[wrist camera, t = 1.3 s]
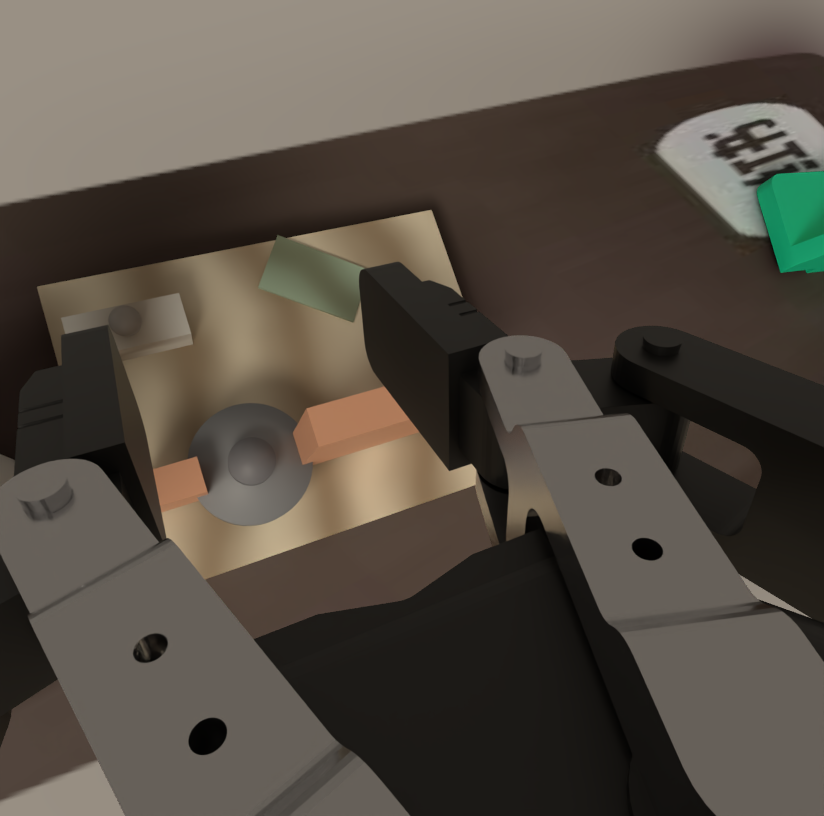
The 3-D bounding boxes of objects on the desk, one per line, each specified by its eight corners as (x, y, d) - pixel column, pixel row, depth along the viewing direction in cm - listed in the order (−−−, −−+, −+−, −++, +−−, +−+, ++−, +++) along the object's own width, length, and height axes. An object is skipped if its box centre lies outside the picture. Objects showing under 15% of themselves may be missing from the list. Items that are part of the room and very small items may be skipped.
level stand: (130, 603, 36) (113, 613, 30) (45, 296, 38) (15, 255, 32) (510, 471, 43) (549, 461, 38) (422, 221, 45) (447, 178, 40)
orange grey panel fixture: (164, 557, 34) (143, 560, 26) (131, 442, 35) (100, 408, 27) (479, 452, 40) (546, 427, 32) (446, 355, 41) (502, 305, 33)
